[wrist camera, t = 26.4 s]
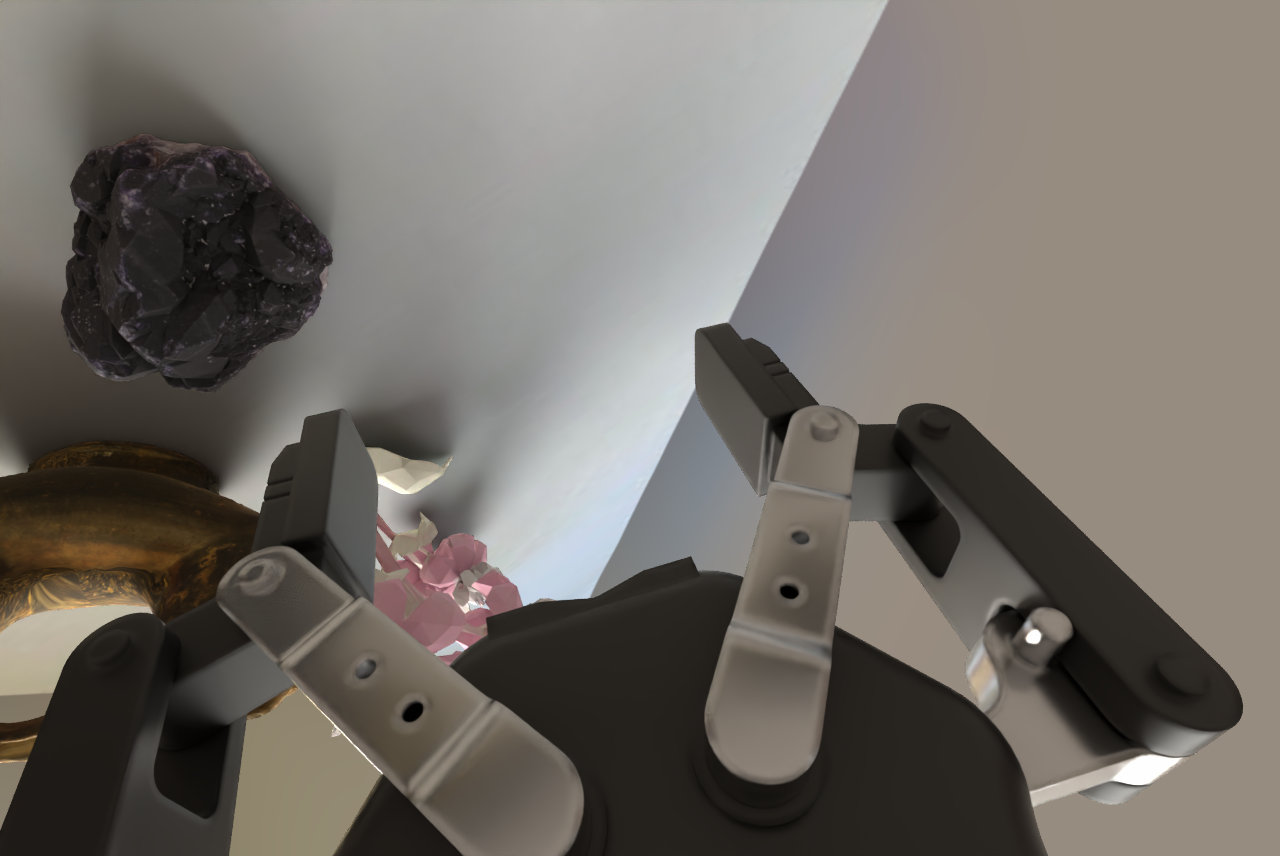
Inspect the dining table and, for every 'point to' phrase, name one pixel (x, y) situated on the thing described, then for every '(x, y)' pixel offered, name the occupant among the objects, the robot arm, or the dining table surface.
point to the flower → (434, 571)
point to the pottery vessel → (114, 542)
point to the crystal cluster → (185, 263)
